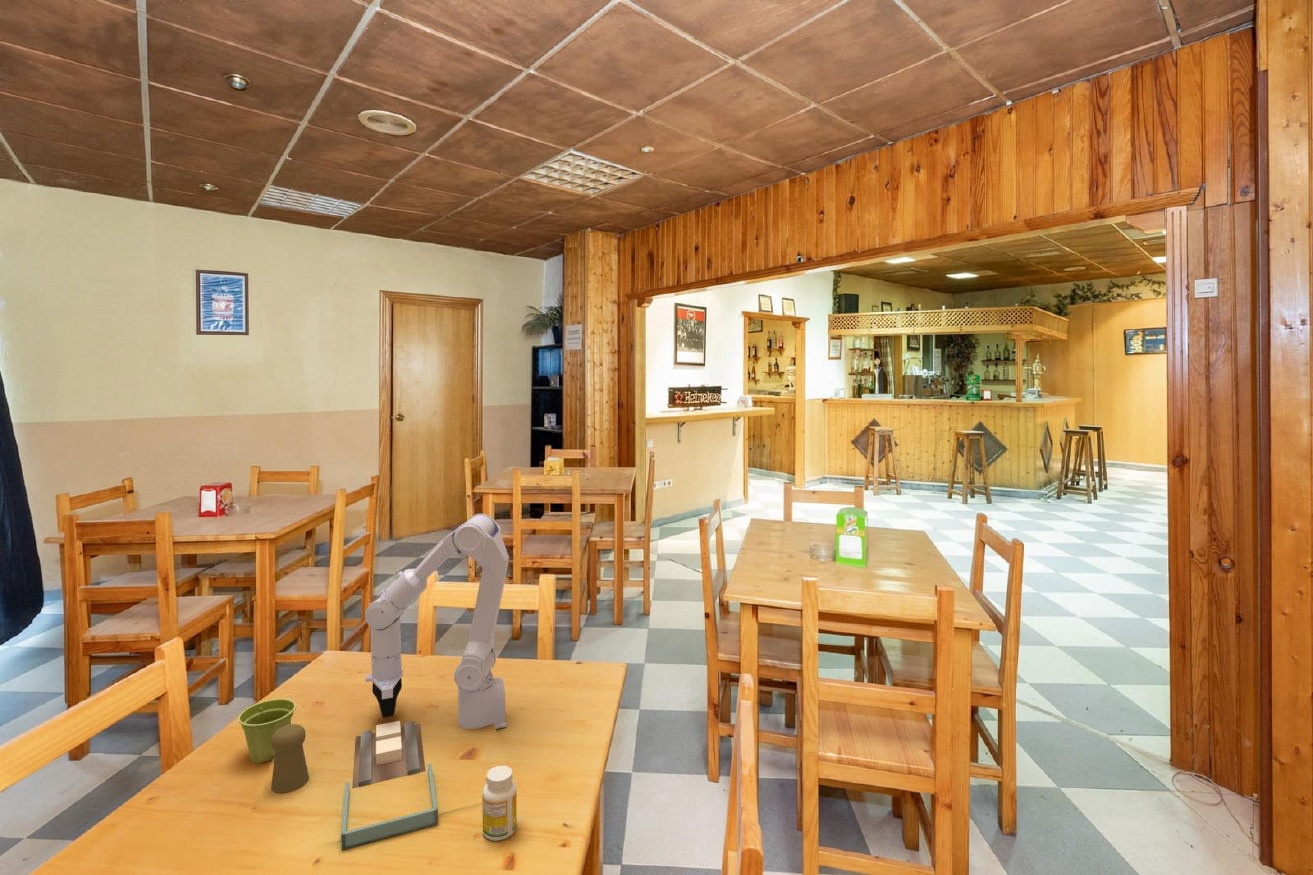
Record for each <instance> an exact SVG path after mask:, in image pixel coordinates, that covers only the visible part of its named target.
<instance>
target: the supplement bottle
mask: <svg viewBox="0 0 1313 875" xmlns="http://www.w3.org/2000/svg"><path fill="white" fill-rule="evenodd" d="M513 779H514V778H513V769H512V768H511V767H509V766H507V765H497V766H494V767H492V768H490V769H489V770H488V771H487V773H486V784H485V785H484V786H483V788H482V792H481V796H482V798H481V799H482V803H481V804H482V808H481V809H482V834H483V836H484V837H485V838H486V839H488V840H489V841H499V842H500V841H503V840H506V839H508V838H509V837H511V836H512V835H513V834H514V832H515V831H516V830H517V819H518V818H517V816H518V815H517V805H518V804H517V800H518V799H517V795H518V794H517V792H518V791H517V788H518V787H517V785H516V782H515V781H514V780H513Z"/></svg>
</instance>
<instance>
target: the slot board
mask: <svg viewBox="0 0 1313 875" xmlns="http://www.w3.org/2000/svg"><path fill="white" fill-rule="evenodd" d="M403 725H404V726H402V727H401V726H400V728H401V744H402V760H398V761H394V762H389V763H385V764H381V765H376V732H373V730H372V729H368V730H363V731H360V735H358V736H355V743H354V758H353V769H352V770H353V773H352V785H351V786H352V787H351V788H352V789H355V788H356V789H357V788H359V787H364V786H369V785H372V784H377V783H382V782H384V781H389V780H394V779H397V778H402V777H406V776H411V775H414V774H420V773H423V772H426V764H425V755H424V748H423V747H424V746H423V740H422V738H423V737H422V729H421V723H416V721H415V720H413V721H408V722H407V721H406V722H404V724H403Z"/></svg>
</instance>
